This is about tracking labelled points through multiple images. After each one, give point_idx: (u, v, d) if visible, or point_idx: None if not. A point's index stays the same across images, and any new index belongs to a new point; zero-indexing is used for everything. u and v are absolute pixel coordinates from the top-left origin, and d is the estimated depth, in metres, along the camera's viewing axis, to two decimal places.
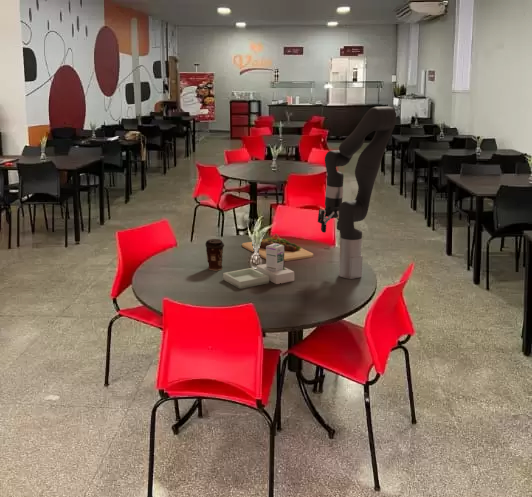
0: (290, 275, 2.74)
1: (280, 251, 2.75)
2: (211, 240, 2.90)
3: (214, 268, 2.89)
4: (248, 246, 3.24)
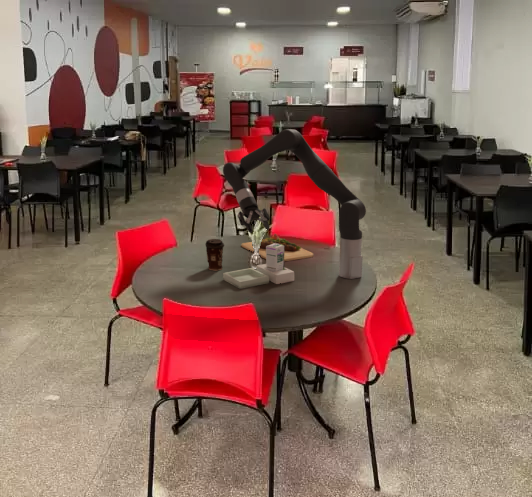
0: (290, 275, 2.74)
1: (280, 251, 2.75)
2: (211, 240, 2.90)
3: (214, 268, 2.89)
4: (248, 246, 3.23)
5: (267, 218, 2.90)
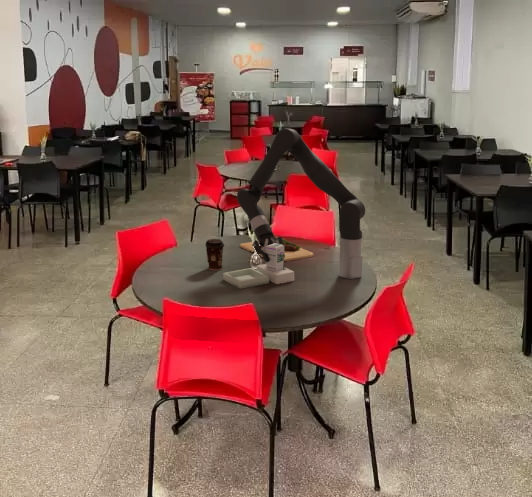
0: (290, 275, 2.74)
1: (280, 251, 2.75)
2: (211, 240, 2.90)
3: (214, 268, 2.89)
4: (247, 247, 3.23)
5: None
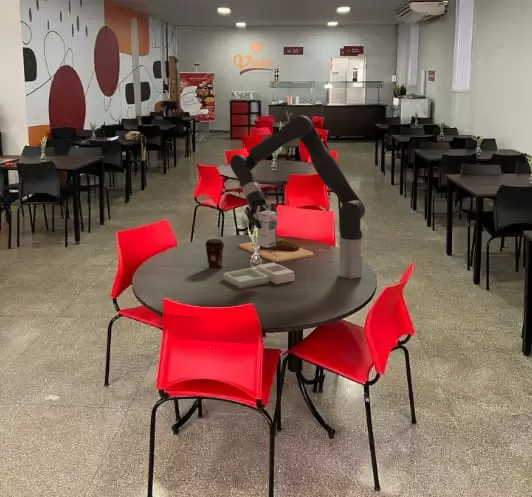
0: (290, 275, 2.74)
1: (272, 218, 2.70)
2: (211, 240, 2.90)
3: (214, 268, 2.89)
4: (246, 247, 3.22)
5: None
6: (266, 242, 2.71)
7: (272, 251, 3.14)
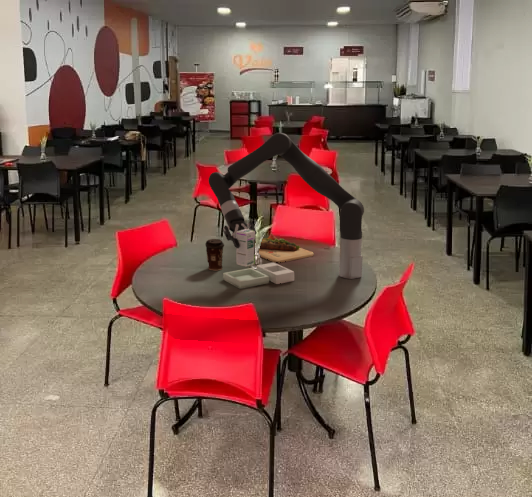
0: (290, 275, 2.74)
1: (250, 237, 2.68)
2: (211, 240, 2.90)
3: (214, 268, 2.89)
4: None
5: None
6: (245, 261, 2.69)
7: (272, 251, 3.14)
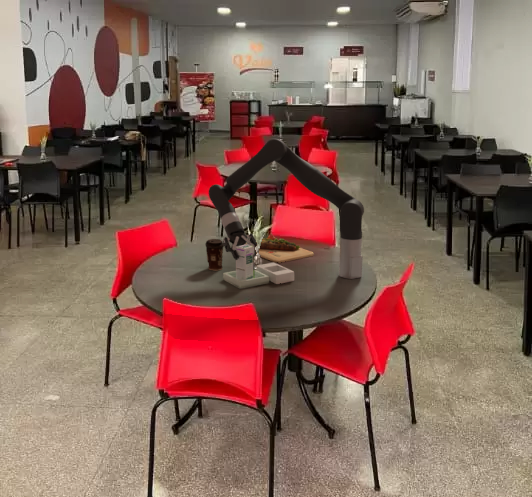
0: (290, 275, 2.74)
1: (249, 252, 2.69)
2: (211, 240, 2.90)
3: (214, 268, 2.89)
4: None
5: (254, 244, 2.76)
6: (244, 276, 2.70)
7: (272, 251, 3.14)
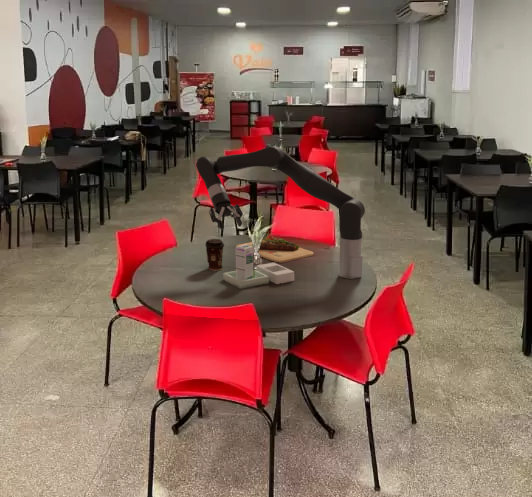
0: (290, 275, 2.74)
1: (249, 252, 2.69)
2: (211, 240, 2.90)
3: (214, 268, 2.89)
4: None
5: (240, 214, 2.84)
6: (244, 276, 2.70)
7: (272, 251, 3.14)
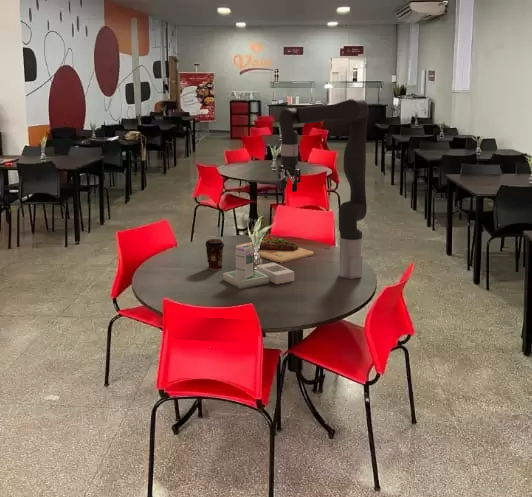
0: (290, 275, 2.74)
1: (249, 252, 2.69)
2: (211, 240, 2.90)
3: (214, 268, 2.89)
4: None
5: (295, 181, 2.85)
6: (244, 276, 2.70)
7: (272, 251, 3.13)
